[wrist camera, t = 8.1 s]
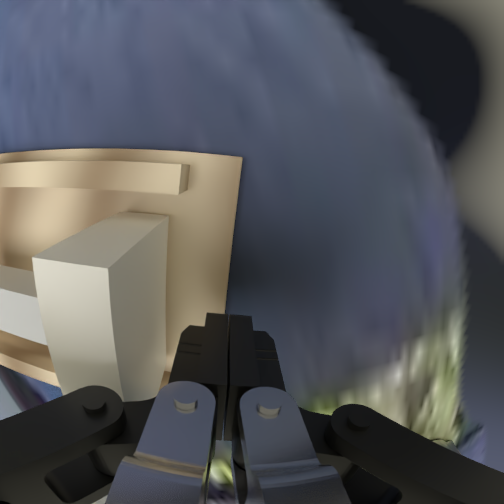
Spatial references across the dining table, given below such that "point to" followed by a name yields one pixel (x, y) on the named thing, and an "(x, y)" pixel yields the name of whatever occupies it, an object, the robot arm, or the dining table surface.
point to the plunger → (97, 305)
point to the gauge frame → (110, 203)
